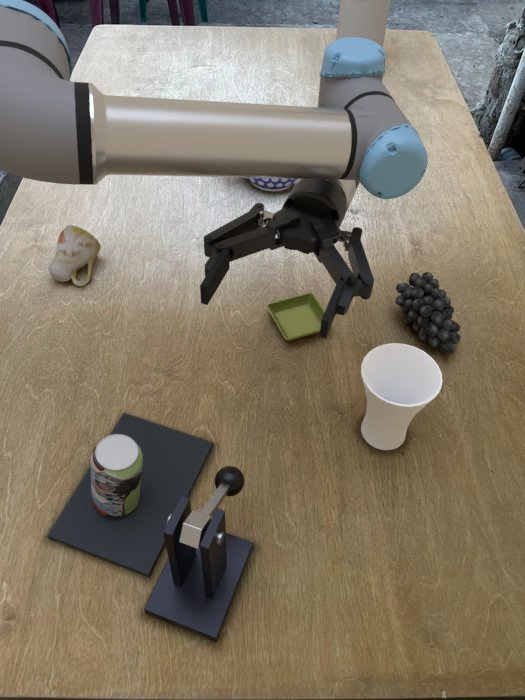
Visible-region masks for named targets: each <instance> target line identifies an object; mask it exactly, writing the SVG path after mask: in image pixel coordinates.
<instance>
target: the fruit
mask: <svg viewBox="0 0 525 700" xmlns="http://www.w3.org/2000/svg"><path fill="white" fill-rule="evenodd" d="M395 290H396V292H397V293H398V294H400V295H397V297H396V298H395V301H394V302H395V304H396V306H399V307H400V309H399V310H400V312H401V314H403V316H402V321H403V323H404V324H405V325H411V324H412V329H413V330H414V331H415V332H418V334H417V335H418V338H419V339H420V340H421V341H428V345H429V346H430V347H431V348H434V349H437V348H438V350H439V351H440V352H441V353H444V354H445V355H447V356H451V355H453V354H455V351H456V348H455V345H457V344H459V343H460V341H461V334H460V333H458V332H460V331H461V330H460V329H461V325H460V323H458V322H457V321H456V320H455V321H454V320H453V314H454V313H455V308H454V306H452V305H451V304H452V300H451V298H450V297H448V296H447V292H446V290H444V289H440V284H439V280H438V279H437V278H434V275H433V274H432V273H431V272H429V271H425V272H423V273H422V274H420V273H418V272H412V273H411V274H409V278H408V282H400V283H397V284H396V286H395Z"/></svg>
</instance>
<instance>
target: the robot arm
mask: <svg viewBox="0 0 525 700" xmlns="http://www.w3.org/2000/svg"><path fill="white" fill-rule="evenodd" d="M322 57H323V58H322V62H321V63H322V64H321V68H320V72H319V87H318V88H319V89H318V100H317V106H302V105H301V106H300V105H299V106H298V105H285V104H269V103H268V104H267V103H266V104H265V103H249V102H248V103H247V102H232V101H215V100H214V101H213V100H199V99H198V100H195V99H181V98H164V97H145V96H144V97H143V96H128V95H127V96H126V95H110V94H109V95H108V94H104V93H102V91H100V90H99V89H98V88H97V86H96V85H94V84H93V82H82V81H71V78H72V72H73V62H72V57H71V53H70V51H69V46H68V44H67V41H66V39H65V36H64V34H63V32H62V31H61V29H60V28H59V26H58V25H57V24H56V22H55V21H54V20H53V19H52V18H51V17H50V16H49V15H48V14H47V13H46V12H44V11H43V10H42V9H40V8H39V7H38V6H36V5H34V4H32V3H30V2H28V1H27V0H0V170H1V172H2V171H3V172H4V173H6V174H10V175H13V176H16V177H19V178H22V179H27V180H31V181H32V180H33V181H37V182H43V183H51V184H60V185H89V186H91V185H92V186H93V185H94V186H95V185H96V186H97V185H98V184H99V183H100V182H101V181H102V180H103V179H105V177H107V176H153V177H154V176H155V177H195V178H196V177H198V178H199V177H201V178H202V177H203V178H205V177H206V178H245V179H247V178H293V179H298V180H297V181H296V183H295V184H294V186H293V187H292V189H291V190H290V193H288V196H287V198H286V199H285V201H284V203H283V205H282V207H281V209H279V210H278V211H275V212H271V211H268V210H265V204H264V203H262V202H256V203H255V204H253V206H252V207H251V208H250V209H249V211H247V212H244V214H242V215H240V216H238V217H236V218H234V219H233V220H231V221H229V222H227V223H225V224H224V225H222V226H220V227H217V228H216V229H214V230H213V231H210V232H208V233H207V234H205V235H204V236H203V253H204V254H203V255H204V256H205V257H206V258H208V259H207V260H206V262H205V264H204V278H203V280H202V281H201V283H200V284H199V290H200V303H201V304H202V305H205V306H208V305H209V304H210V302H211V301H212V298H213V297H214V295H215V294H216V292H217V291H218V289H219V287H220V285H221V283H222V282H223V280H224V278H225V277H226V275H227V273H228V272H229V270H230V262H233V261H236V260H240V259H243V258H246V257H248V256H251V255H254V254H257V253H260V252H262V251H266V250H268V249H269V250H270V251H274V250H277V249H279V248H283V249H285V250H291V251H298V252H300V253H302V254H305V255H310V254H314V256H315V258H316V259H317V261H318V262H319V264H321V263H322V265H323V267H324V268H325V270H326V271H327V273H328V274H329V276H330V277H331V279H332V281H333V282H334V284H335V287H334V289H333V291H332V294H331V296H330V299H329V301H328V303H327V305H326V308H325V309H324V311H325V313H324V315H323V318H322V321H321V328H320V332H319V333H318V334H319V335H318V337H319V338H320V339H325V340H326V339H327V338H328V334H329V332H330V330H331V328H330V327H331V325H332V323H334V320H335V317H336V315H339V316H343V317H344V316H346V315H347V313H348V311H349V308H350V305H351V303H352V300H353V299H354V298H355V297H360V298H361V299H362V300H370V299H371V297H372V292H373V288H374V283H375V278H374V275H373V273H372V269H371V266H370V264H369V261H368V258H367V255H366V251H365V249H364V246H363V242H362V236H363V229H362V227H359V226H355V227H353V228H352V230H351V231H348V230H343V229H341V225H342V223H343V222H344V219H345V217H346V214H347V211H348V210H349V208H350V206H351V204H352V202H353V199H354V198H355V194H356V192H357V189H358V187H359V185H362V187H363V188H364V189H365V190H366V191H367V192H368V193H369V194H370V195H371V196H373V197H375V198H378V199H381V200H392V199H396V198H399V197H402V196H404V195H406V194H408V193H410V192H411V191H413V189H414V188H416V187H417V186H418V185H419V183H420V182H421V181H422V180H423V177H424V176H425V174H426V171H427V168H428V164H429V158H428V156H429V155H428V152H427V149H426V147H425V144H424V143H423V140H422V139H421V137H420V135H419V132H418V130H417V129H416V127H414V125H413V124H412V123H411V122H410V120H409V119H408V118H407V116H406V115H405V114H404V113H403V111H402V109H401V108H400V107H399V105H398V104H397V102H396V100H395V99H394V98H393V96H392V95H391V93H390V92H389V90H388V89H387V87H386V86H385V85H384V83H383V78H384V75H385V74H386V69H385V68H386V67H385V66H386V57H387V56H386V50H385V49H384V47H383V48H382V47H381V46H380V45H379V44H378V43H376V42H374V41H372V40H369V39H365V38H359V37H347V38H341V39H337V40H336V39H334V40H333V41H331V42H330V43H329V44H328V45H327V46H326V47H325V49H324V52H323V56H322ZM338 242H340V243H341V244H342V247H343V248H344V251H345V252H347V257H348V262H349V264H350V267H349V265H348V264H347V262H346V261H345V259H344V258H343V256H342V254H341V253H340V252H339V251H338V249H337V248H336V246H335V245H336V244H337V243H338Z"/></svg>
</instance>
